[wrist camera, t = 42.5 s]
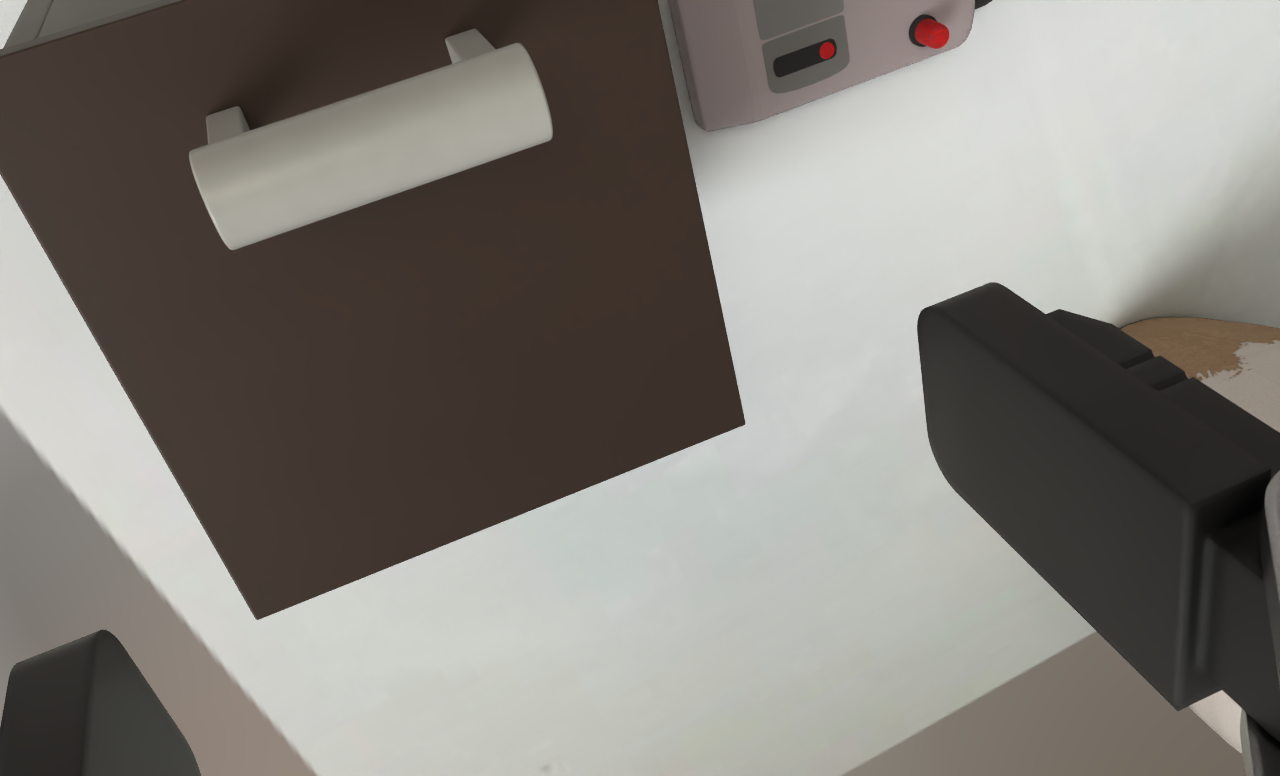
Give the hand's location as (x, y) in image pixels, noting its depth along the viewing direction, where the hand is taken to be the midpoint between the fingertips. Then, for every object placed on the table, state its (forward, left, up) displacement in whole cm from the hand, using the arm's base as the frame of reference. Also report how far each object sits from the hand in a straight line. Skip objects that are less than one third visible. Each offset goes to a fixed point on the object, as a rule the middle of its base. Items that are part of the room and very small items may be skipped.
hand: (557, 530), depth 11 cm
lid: (0, -4, -16) cm, 17 cm away
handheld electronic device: (+17, -5, -28) cm, 33 cm away
